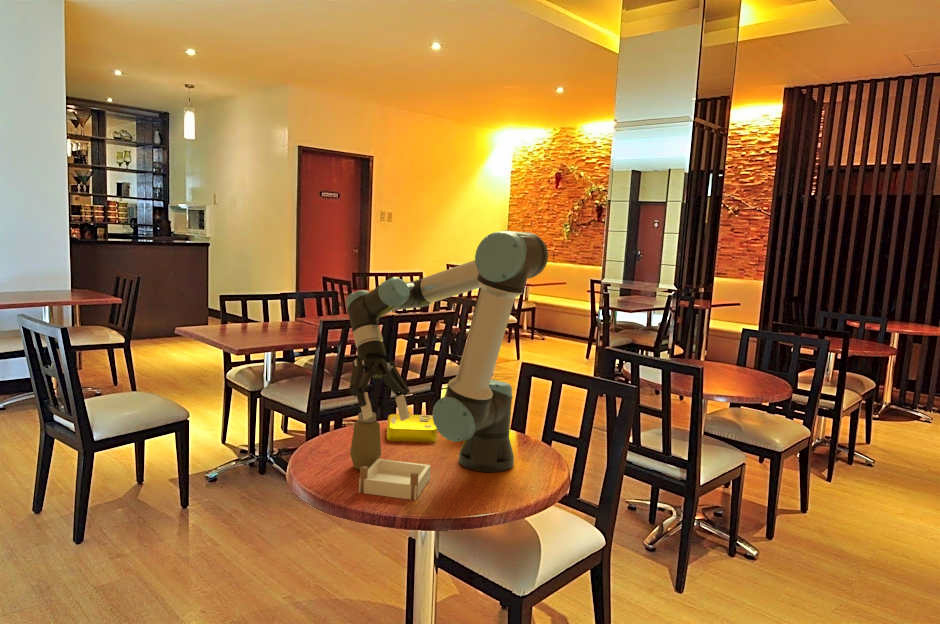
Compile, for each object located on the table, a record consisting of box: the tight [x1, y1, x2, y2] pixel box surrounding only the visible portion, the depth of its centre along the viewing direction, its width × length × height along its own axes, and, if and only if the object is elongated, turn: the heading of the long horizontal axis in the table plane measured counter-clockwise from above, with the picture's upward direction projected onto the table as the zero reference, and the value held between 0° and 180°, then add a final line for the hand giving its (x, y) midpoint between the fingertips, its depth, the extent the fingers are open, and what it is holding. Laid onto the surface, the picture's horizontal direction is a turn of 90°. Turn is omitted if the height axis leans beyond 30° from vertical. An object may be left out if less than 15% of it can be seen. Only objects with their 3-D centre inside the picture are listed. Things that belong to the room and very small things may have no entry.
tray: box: [358, 458, 432, 501], centre depth 158 cm, size 14×14×6 cm
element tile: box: [386, 413, 438, 443], centre depth 199 cm, size 15×15×5 cm
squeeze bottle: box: [349, 399, 382, 471], centre depth 168 cm, size 8×8×18 cm
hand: (387, 418), depth 168 cm, fingers open, 13 cm apart
